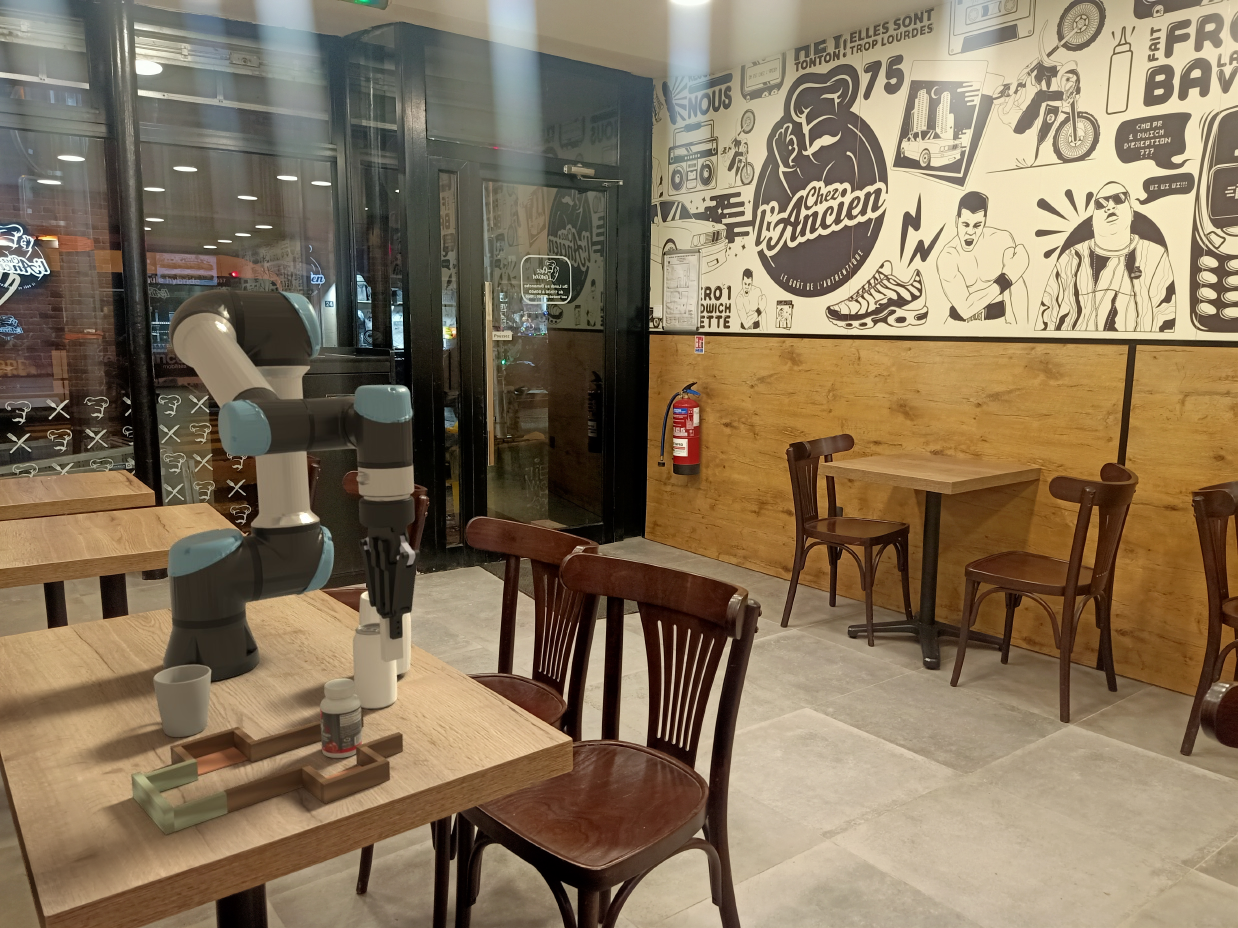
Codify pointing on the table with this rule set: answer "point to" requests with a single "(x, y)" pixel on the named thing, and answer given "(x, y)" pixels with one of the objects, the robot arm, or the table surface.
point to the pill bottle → (340, 719)
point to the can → (373, 669)
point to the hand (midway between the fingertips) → (392, 658)
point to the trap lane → (241, 747)
